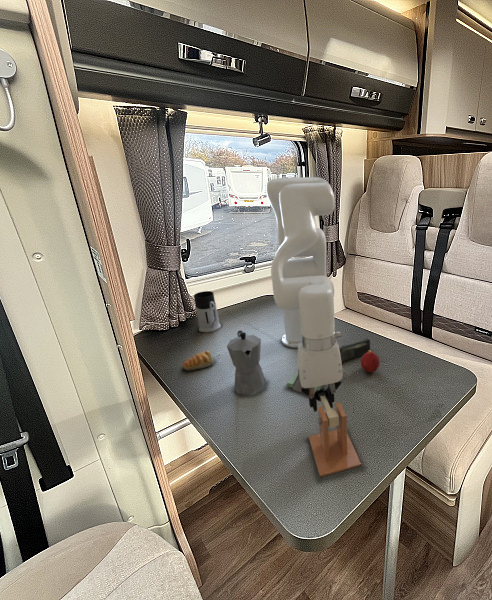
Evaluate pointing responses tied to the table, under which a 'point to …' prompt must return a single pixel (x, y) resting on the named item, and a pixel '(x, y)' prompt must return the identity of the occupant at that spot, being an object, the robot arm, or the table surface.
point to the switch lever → (327, 407)
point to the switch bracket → (333, 445)
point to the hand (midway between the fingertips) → (322, 405)
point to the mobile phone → (354, 349)
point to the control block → (291, 382)
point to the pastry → (198, 361)
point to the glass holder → (206, 311)
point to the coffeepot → (246, 363)
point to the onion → (370, 361)
